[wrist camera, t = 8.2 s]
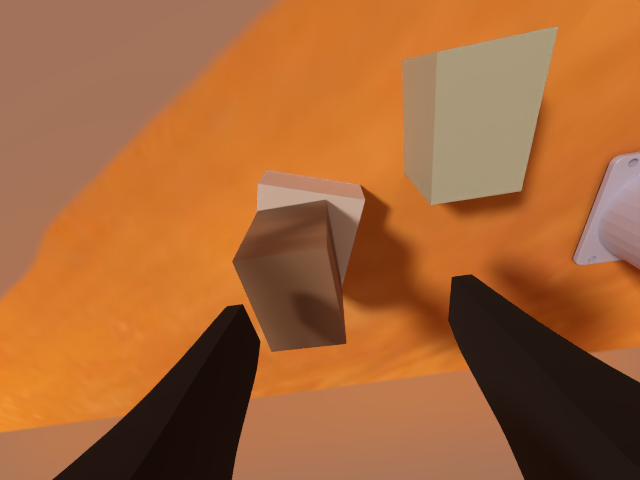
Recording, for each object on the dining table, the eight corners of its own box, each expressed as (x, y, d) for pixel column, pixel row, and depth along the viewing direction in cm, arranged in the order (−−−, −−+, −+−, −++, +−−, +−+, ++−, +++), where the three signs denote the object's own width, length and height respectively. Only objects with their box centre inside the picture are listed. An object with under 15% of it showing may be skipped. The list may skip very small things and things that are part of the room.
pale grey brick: (359, 182, 17) (365, 200, 15) (336, 275, 22) (337, 302, 19) (267, 167, 17) (257, 183, 14) (262, 266, 21) (253, 291, 19)
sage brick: (483, 42, 13) (558, 26, 9) (469, 161, 16) (521, 191, 12) (401, 60, 14) (436, 51, 9) (403, 172, 17) (431, 205, 12)
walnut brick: (326, 199, 15) (326, 247, 11) (341, 280, 18) (346, 343, 14) (257, 210, 15) (232, 261, 11) (284, 288, 18) (271, 351, 14)
